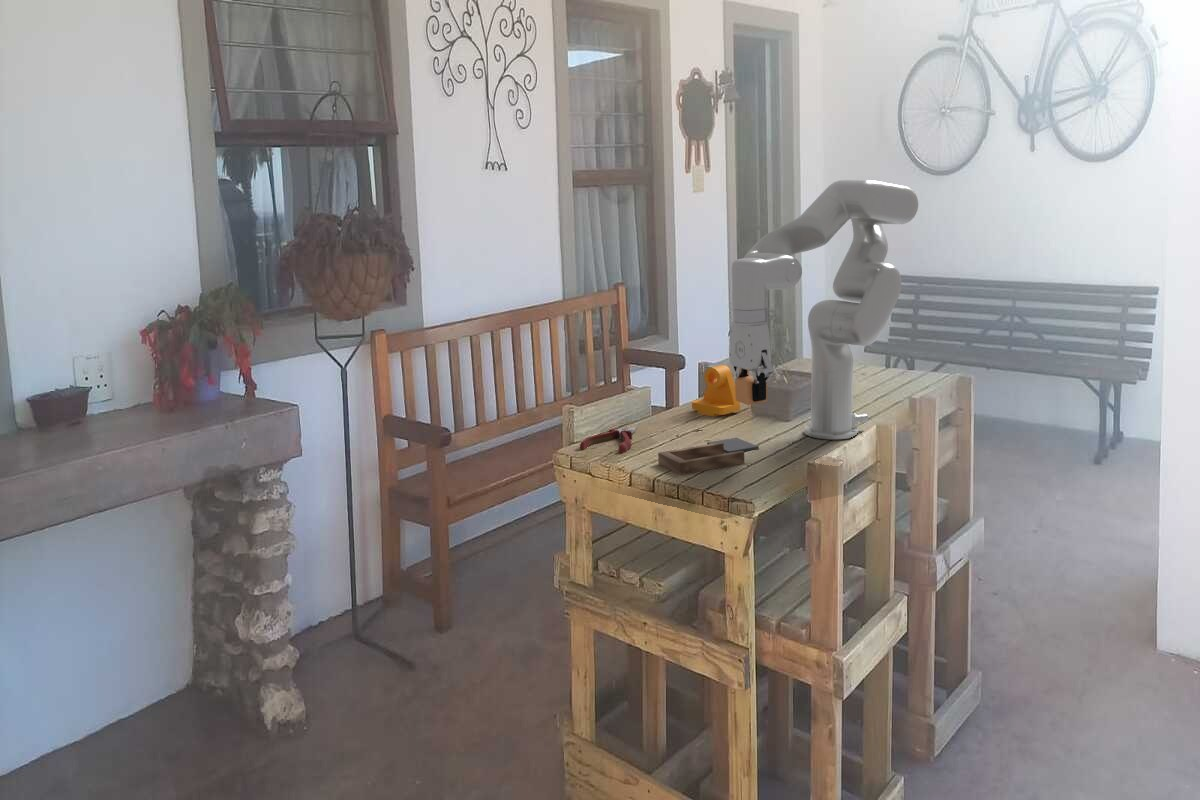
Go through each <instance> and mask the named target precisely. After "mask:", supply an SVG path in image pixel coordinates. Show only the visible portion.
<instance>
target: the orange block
mask: <svg viewBox="0 0 1200 800" xmlns="http://www.w3.org/2000/svg"><path fill="white" fill-rule="evenodd" d="M734 383H735V394H736V401H739V402H740V404H741V403H742V404H744V405H747V406H749V405H755V404H761V403H767V402H768V381H767V382H766V400H762V401H756V402H755V401H753V395H752V384H753V383H754V378H753V375H749V376H747V377H740V378H736V377H735V378H734Z"/></svg>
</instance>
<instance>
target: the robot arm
mask: <svg viewBox="0 0 1200 800" xmlns="http://www.w3.org/2000/svg"><path fill="white" fill-rule="evenodd" d="M918 210H919V199H918V196H917V194H916V193H915V191H914V190H913V189H911V188H910V187H909V186H905V185H899V184H895V183H894V184H893V183H889V182H888V183H887V182H884V181H880V180H879V181H878V180H872V179H871V180H870V179H840V180H837V181H834V182H832V183H830V184H829V185H828V186H827V187H826V188H825V189H824V190H823V192H822V193H820V195H819V196H818V197H817V198H816V199H815V200H814V201H813V202H812V203H811V204H810V205H809V206H808V207H807V208H806V209H805V210H804V211H803V213H802V214H801V215H799V216H798V217H797V218H795V219H793V220H790V221H788V222H786V223H785V224H783V225H781V226H780V227H777V228H775V229H774V230H772V231H770V232H768V233H766V235H764V236H762V237H761V238H760V239H759V240H758V241H757V242H755V244H754V245H753V246H752V247H751V248H750V249H749V250H748V251H747V252H746V254H744V256H743V257H742V258H738V259H735V260H734V261H733V262H732V264H731V302H732V303H731V304H732V321H731V324H730V330H729V331H730V332H729V340H728V341H729V345H728V346H729V347H728V359H729V363H730V365H731V366H733V369H734V371H735V378H740V377H747V376H750V372H751V373H752V376H753V378H754V383H753V384H752V395H753V401H755V402H756V401H762V400H766V382H767V383H768V379H769V377H770V376H771V374H772V373H773V372H774V368H773V366H772V364H771V363H772V348H771V347H772V346H771V335H770V334H771V333H770V330H769V329H770V328H769V324H768V323H769V313H768V312H769V306H768V305H769V304H768V301H769V300H768V291H769V290H770V291H771V290H782V291H783V290H788V289H791V288H793V287H794V286H796V285H797V284H798V283H799V281H800V280H801V279H802V275H803V274H802V273H803V267H802V265H801V262H800V261H799V260H798V259H797V258H796V257H794V255H796V254H800V253H805V252H808V251H812V250H816V249H818V248H821V247H823V246H825V245H826V244H828V243H829V242H830V241H831V239H832V238H834V236H835V235H836V234H837V233H838V232H839V230H840V229H842V228H843V226H845V224H846V223H847V222H849V220H850V221H851V226H852V233H853V234H852V235H853V236H852V242H851V245H850V246H849V248H848V251H847V253H846V255H845V256H844V259H843V261H842V262H841V264H840V266H839V268H838V271H837V272H836V275H835V277H834V279H833V283H832V290H833V293H834V295H835V296H836V297H838V298H839V299H841V300H835V299H825V300H821V301H819V302H817V303H815V304H814V305H813V306H812V307H811V309H810V310H809V313H808V316H807V326H808V327H807V328H808V334H809V339H810V345H811V381H810V382H811V384H810V385H811V389H810V392H811V393H810V395H811V396H810V424H807V425H805V426H804V427H803V433H804V435H806V436H808V437H811V438H814V439H815V438H816V439H821V440H836V441H837V440H847V439H851V437H852V438H854V437H853V436H854V435H856V434H857V433H858V434H859V428H858V427H857V426H856V425H857V424H858V423H866V422H868V421H869V415H868V414H867V413H861V414H857V413H853V403H854V402H853V401H854V400H853V399H854V397H853V395H854V394H853V391H854V390H853V389H854V356H853V352H852V350H851V346H850V345H852V346H859V347H865V346H870V345H872V344H873V343H875V342H876V341H877V339H878V338H880V335H881V333H882V332H883V330H884V328H885V326H886V324H887V322H888V320H889V318H890V316H891V314H892V312H893V309H894V308H895V305H896V304H897V302H898V299H899V297H900V294H901V290H902V277H901V272H900V271H899V269H898V268H897V267H896V266H895V265H893V264H891V263H887V262H885V259H886V258H887V255H888V251H889V244H888V239H887V237H886V234H885V232H884V228H883V226H882V225H904V224H907V223H909V222H911V221H912V220H913V219H915V216H916V215H917V212H918ZM792 255H793V256H792ZM759 372H760V373H759Z"/></svg>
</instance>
